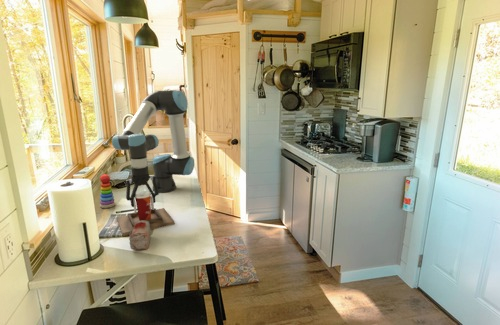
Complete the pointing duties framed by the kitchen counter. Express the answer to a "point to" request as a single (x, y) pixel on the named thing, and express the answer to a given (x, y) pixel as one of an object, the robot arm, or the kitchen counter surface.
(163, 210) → the assembly base
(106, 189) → the stacking toy
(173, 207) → the kitchen counter surface
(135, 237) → the food item
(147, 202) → the paper cup
